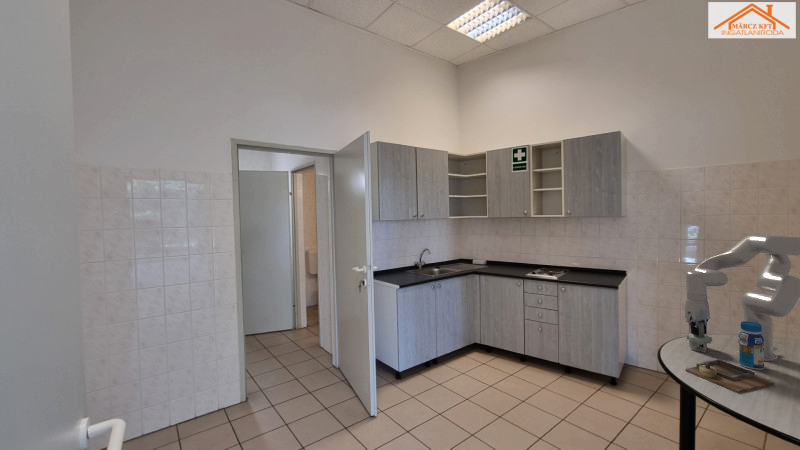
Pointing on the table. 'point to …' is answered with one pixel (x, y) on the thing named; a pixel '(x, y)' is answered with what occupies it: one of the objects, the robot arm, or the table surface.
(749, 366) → the beverage bottle
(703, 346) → the coffee box
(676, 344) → the table surface
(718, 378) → the carrier
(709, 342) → the gear
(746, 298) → the robot arm
